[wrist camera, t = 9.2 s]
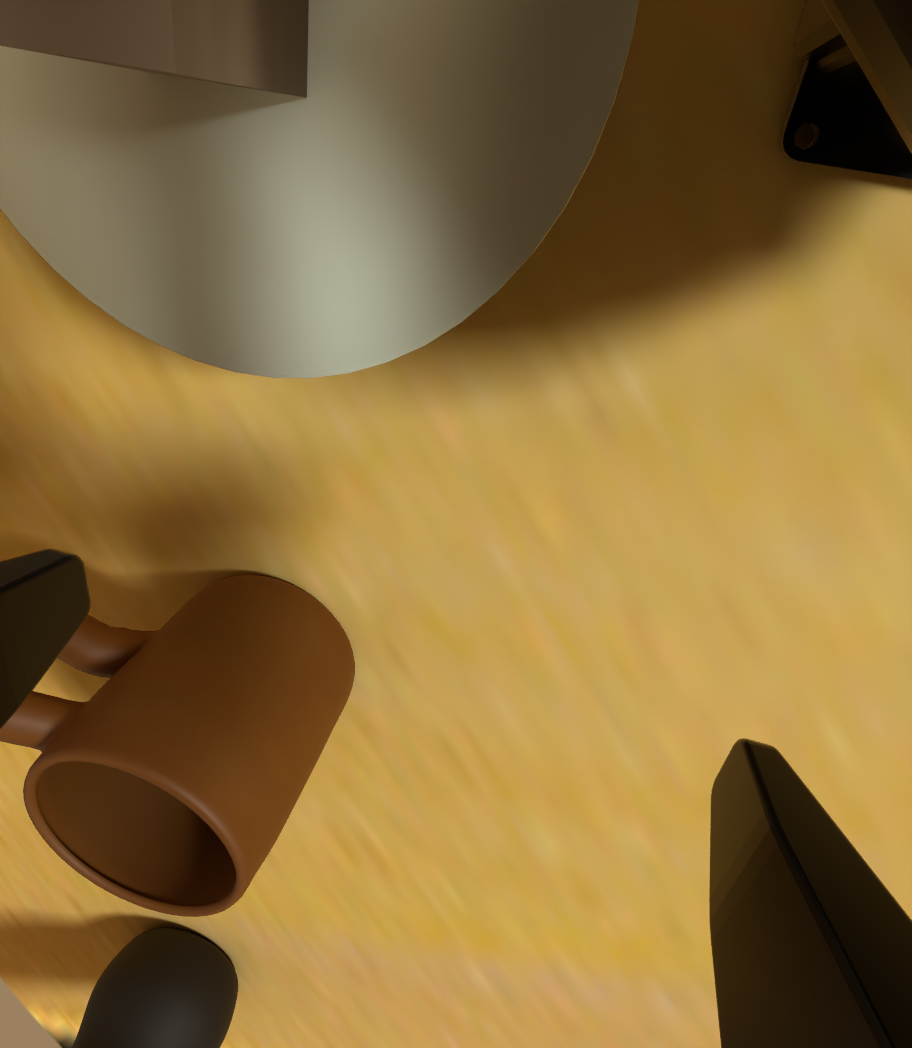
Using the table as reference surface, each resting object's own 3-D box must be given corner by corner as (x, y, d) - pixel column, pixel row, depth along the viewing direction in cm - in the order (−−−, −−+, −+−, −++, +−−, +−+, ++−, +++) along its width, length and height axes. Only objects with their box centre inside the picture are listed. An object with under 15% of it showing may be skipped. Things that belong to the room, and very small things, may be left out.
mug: (80, 578, 28) (-135, 745, 20) (142, 459, 24) (-95, 605, 16) (306, 737, 30) (189, 948, 22) (396, 648, 26) (294, 865, 18)
